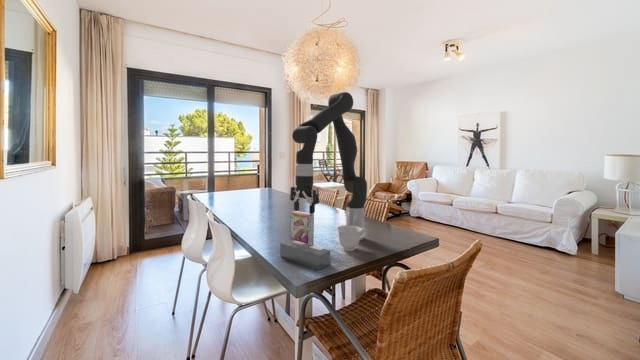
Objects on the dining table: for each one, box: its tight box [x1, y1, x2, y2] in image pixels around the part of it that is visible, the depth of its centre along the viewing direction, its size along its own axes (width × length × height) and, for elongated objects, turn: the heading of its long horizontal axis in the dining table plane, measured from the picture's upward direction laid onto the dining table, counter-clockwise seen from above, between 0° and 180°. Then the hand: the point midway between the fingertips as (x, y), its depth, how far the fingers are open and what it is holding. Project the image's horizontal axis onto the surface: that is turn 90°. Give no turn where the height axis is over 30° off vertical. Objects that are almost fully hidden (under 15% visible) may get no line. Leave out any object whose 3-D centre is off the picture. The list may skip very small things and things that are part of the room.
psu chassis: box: [279, 238, 331, 271], centre depth 119 cm, size 7×22×6 cm, turn 52°
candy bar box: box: [290, 210, 315, 246], centre depth 136 cm, size 11×5×16 cm, turn 55°
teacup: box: [336, 224, 368, 252], centre depth 133 cm, size 12×15×10 cm
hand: (304, 212), depth 119 cm, fingers open, 8 cm apart
